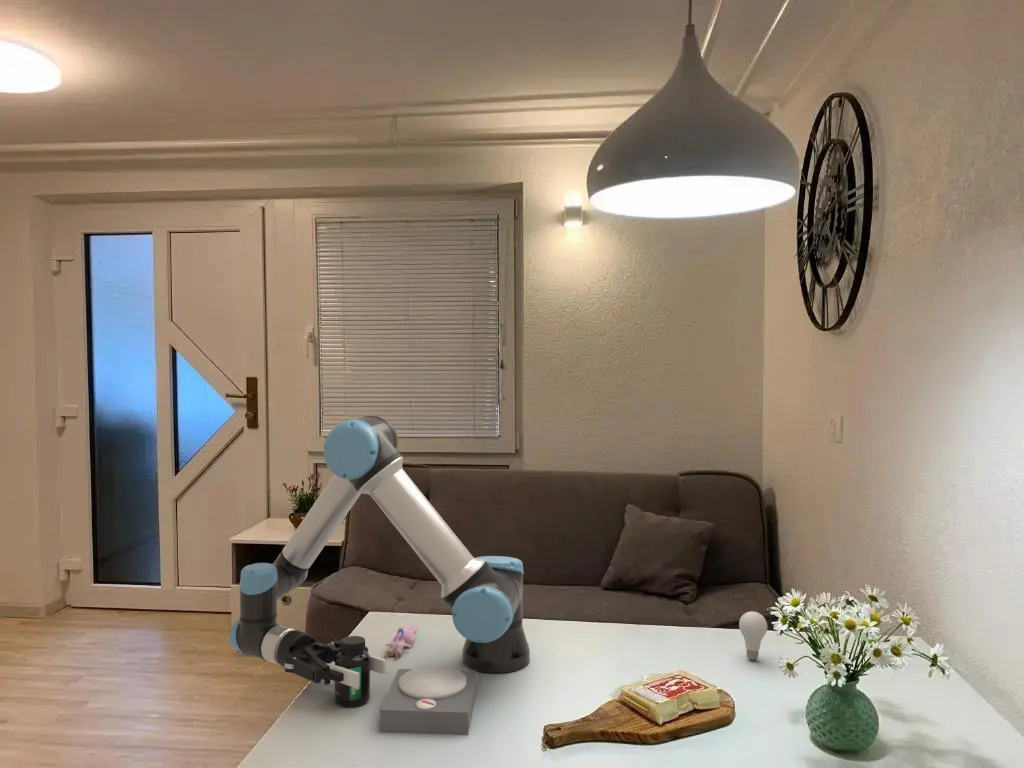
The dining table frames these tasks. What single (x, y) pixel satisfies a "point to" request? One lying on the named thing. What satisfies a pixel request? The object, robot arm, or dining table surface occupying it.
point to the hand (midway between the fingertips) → (371, 673)
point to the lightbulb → (753, 632)
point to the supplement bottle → (355, 660)
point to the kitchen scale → (429, 701)
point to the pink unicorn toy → (402, 640)
